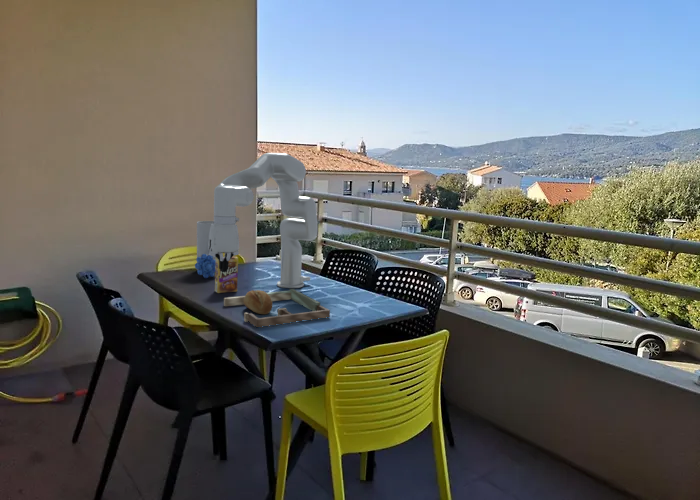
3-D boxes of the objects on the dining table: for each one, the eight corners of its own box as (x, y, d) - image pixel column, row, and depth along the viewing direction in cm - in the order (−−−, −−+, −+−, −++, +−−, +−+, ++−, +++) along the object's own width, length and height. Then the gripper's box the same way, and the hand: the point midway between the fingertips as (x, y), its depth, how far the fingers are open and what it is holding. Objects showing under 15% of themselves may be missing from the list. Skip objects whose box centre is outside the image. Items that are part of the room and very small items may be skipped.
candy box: (217, 293, 210) (218, 258, 208) (214, 291, 214) (214, 256, 211) (237, 291, 215) (238, 257, 213) (234, 289, 219) (234, 255, 216)
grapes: (199, 281, 230) (199, 256, 228) (192, 278, 235) (192, 253, 233) (221, 278, 238) (222, 254, 236) (215, 275, 243) (215, 251, 241)
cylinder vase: (203, 274, 245) (203, 224, 241) (192, 269, 254) (192, 221, 250) (226, 271, 254) (226, 223, 250) (214, 267, 263) (215, 220, 259)
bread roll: (254, 318, 179) (254, 297, 178) (238, 307, 191) (238, 287, 190) (277, 314, 185) (278, 294, 184) (260, 304, 197) (261, 285, 196)
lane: (292, 297, 210) (293, 288, 209) (319, 312, 190) (319, 302, 190) (223, 305, 193) (223, 295, 193) (245, 322, 174) (245, 311, 173)
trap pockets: (319, 312, 190) (319, 305, 190) (329, 317, 184) (329, 310, 184) (248, 321, 175) (248, 313, 174) (256, 328, 168) (256, 319, 168)
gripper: (240, 219, 183) (239, 268, 186) (200, 219, 175) (199, 270, 177) (248, 222, 177) (247, 272, 179) (207, 222, 169) (206, 274, 171)
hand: (223, 271), depth 178 cm, fingers closed
